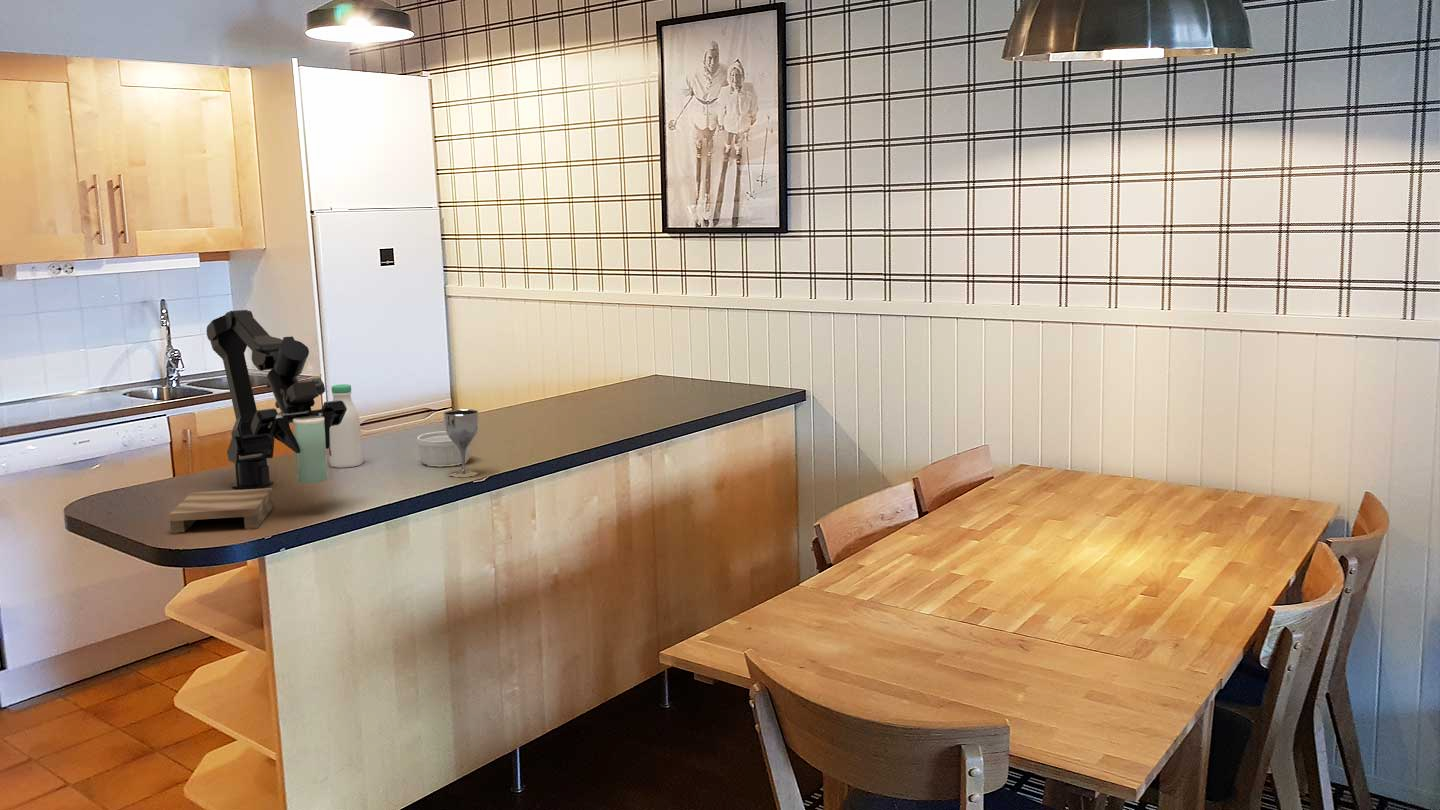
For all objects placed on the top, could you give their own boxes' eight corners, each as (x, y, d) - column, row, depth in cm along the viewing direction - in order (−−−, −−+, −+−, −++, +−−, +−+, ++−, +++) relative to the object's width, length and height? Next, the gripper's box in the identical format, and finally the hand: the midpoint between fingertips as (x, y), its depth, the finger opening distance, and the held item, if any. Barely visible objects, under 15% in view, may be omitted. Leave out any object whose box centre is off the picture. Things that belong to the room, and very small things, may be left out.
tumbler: (291, 482, 239) (286, 420, 237) (309, 475, 245) (305, 415, 243) (316, 484, 237) (312, 421, 235) (334, 477, 243) (330, 416, 241)
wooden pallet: (193, 511, 244) (191, 492, 244) (273, 506, 247) (272, 488, 247) (171, 533, 227) (169, 513, 226) (257, 528, 230) (256, 508, 229)
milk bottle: (369, 463, 290) (364, 383, 287) (347, 469, 283) (342, 388, 280) (345, 460, 293) (340, 382, 290) (323, 466, 286) (317, 386, 283)
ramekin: (458, 469, 282) (457, 441, 281) (408, 467, 285) (407, 439, 283) (481, 458, 294) (480, 431, 293) (433, 456, 297) (432, 430, 296)
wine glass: (473, 478, 271) (469, 415, 269) (441, 477, 273) (437, 414, 271) (486, 471, 279) (483, 409, 277) (455, 470, 281) (452, 409, 278)
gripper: (251, 371, 234) (277, 432, 228) (340, 362, 246) (367, 420, 240) (240, 405, 241) (265, 465, 235) (326, 395, 253) (352, 452, 247)
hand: (313, 449), depth 239 cm, fingers closed on tumbler, 6 cm apart
